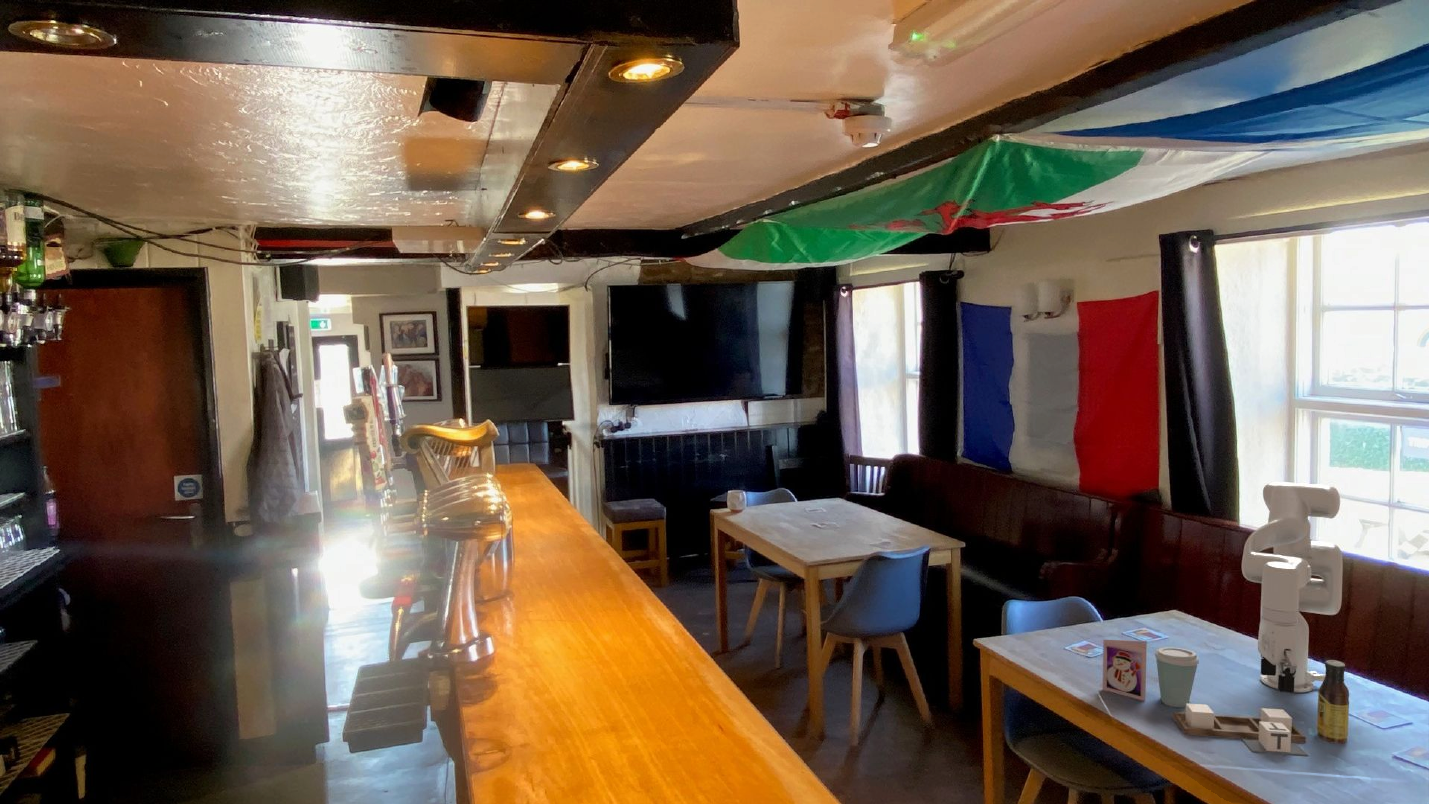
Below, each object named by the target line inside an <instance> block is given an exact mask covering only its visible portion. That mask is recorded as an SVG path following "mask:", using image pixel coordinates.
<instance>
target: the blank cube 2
mask: <svg viewBox="0 0 1429 804" xmlns="http://www.w3.org/2000/svg"><path fill="white" fill-rule="evenodd" d="M1260 718H1261V722H1274V723H1282V724H1283V725H1284V726H1285V727H1286V728H1287V729H1288V730H1289V731H1290V732H1291V728H1292V724H1293V718H1292V717H1291V716H1290V715H1289V714H1288V712H1286V711H1285V709H1283V708H1282V709H1279V708H1278V709H1277V708H1263V707H1262V708H1260Z"/></svg>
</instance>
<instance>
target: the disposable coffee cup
mask: <svg viewBox="0 0 1429 804" xmlns="http://www.w3.org/2000/svg"><path fill="white" fill-rule="evenodd" d="M1154 657H1155V659H1156V666H1157V678H1158V683H1159V684H1158V685H1159V693H1160V694H1159V695H1160V701H1161V702H1162V703H1163V704H1164V705H1167V706H1170V707H1174V708H1186V703H1188V704H1190V699H1191V695H1192V690H1193V687H1194V686H1193V685H1194V681H1195V676H1196V671H1197V668H1198V665H1199V664H1200V663H1199V657H1198V655H1197V653H1196V652H1195V651H1193V650H1190V649H1186V648H1182V647H1173V646H1172V647H1171V646H1170V647H1160V648H1158V649H1157V650H1155V653H1154Z"/></svg>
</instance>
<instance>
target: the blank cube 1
mask: <svg viewBox="0 0 1429 804" xmlns="http://www.w3.org/2000/svg"><path fill="white" fill-rule="evenodd" d="M1185 713H1186V720H1185V722H1186V723H1187V725H1188V726H1189V727H1190V728H1205V729H1214V715H1215V713H1214V711H1213V710H1212V709H1211V707H1210V706H1209V705H1208V704H1205V703H1204V704H1203V703H1201V704H1200V703H1189V704H1188V703H1186V706H1185Z"/></svg>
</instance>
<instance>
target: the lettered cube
mask: <svg viewBox="0 0 1429 804" xmlns="http://www.w3.org/2000/svg"><path fill="white" fill-rule="evenodd" d="M1259 742H1260V743H1261V744H1262V746H1263V747H1264V748H1265V749H1266V750H1267V751H1277V752H1290V747H1291V743H1292V742H1291V732H1290V731H1289V730H1288V729H1287V728H1286V727H1285V726H1284V725H1283V724H1282V723H1274V722H1260V721H1259Z"/></svg>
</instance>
